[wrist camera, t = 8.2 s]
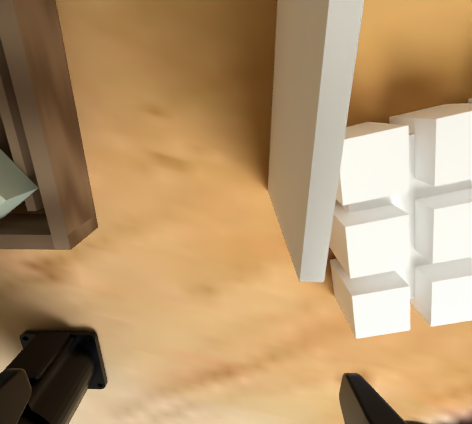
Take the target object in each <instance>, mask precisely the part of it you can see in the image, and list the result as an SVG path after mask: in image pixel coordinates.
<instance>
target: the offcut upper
mask: <svg viewBox="0 0 472 424" xmlns="http://www.w3.org/2000/svg"><path fill="white" fill-rule="evenodd" d="M37 189H38V187H37V186H36V185H35V184H34V183H33V182H32V181H31V180H30V179H29V178H28V177H27V176H26V175H25V174H24V173H23V172H22V171H21V170H20V169H19V168H18V167H17V166H16V164H15V163H14V162H13V161H12V160H11V159H10V158H9V157H8V156H7V155H6V154H5V153H4V152H3V151H2V150H1V149H0V219H1V218H3V217H5V216H6V215H7V214H8V213H9V212H11V211H12V210H13V209H14V208H15V207H16V206H18V205H19V204H20V203H21V202H22V201H24V200H25V199H26V198H27V197H28V196H29V195H31V194H32V193H33V192H34V191H35V190H37Z"/></svg>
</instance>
